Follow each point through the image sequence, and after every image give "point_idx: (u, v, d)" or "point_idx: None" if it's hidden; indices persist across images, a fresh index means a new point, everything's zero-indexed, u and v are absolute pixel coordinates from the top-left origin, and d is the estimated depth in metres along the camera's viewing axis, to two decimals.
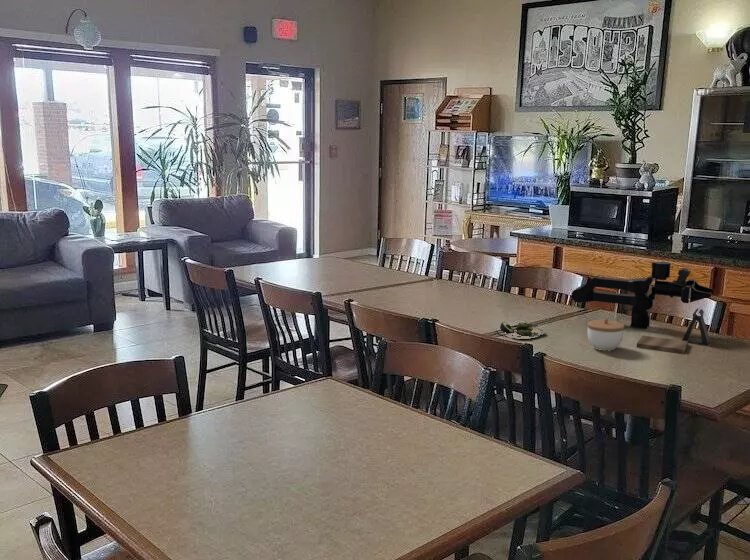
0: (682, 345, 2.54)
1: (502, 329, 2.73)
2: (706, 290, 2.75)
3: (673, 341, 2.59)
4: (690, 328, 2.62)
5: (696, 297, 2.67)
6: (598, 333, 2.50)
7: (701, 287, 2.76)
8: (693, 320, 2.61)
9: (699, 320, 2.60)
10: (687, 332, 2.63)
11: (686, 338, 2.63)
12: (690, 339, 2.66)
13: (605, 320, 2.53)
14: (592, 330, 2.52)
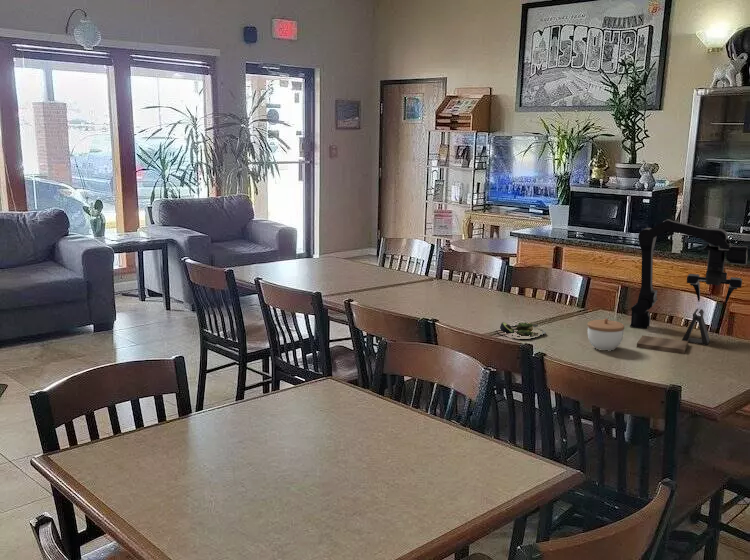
0: (682, 345, 2.54)
1: (502, 329, 2.73)
2: None
3: (673, 341, 2.59)
4: (690, 328, 2.62)
5: None
6: (598, 333, 2.50)
7: (727, 293, 2.66)
8: (693, 320, 2.61)
9: (699, 320, 2.60)
10: (687, 332, 2.63)
11: (686, 338, 2.63)
12: (690, 339, 2.66)
13: (605, 320, 2.53)
14: (592, 330, 2.52)
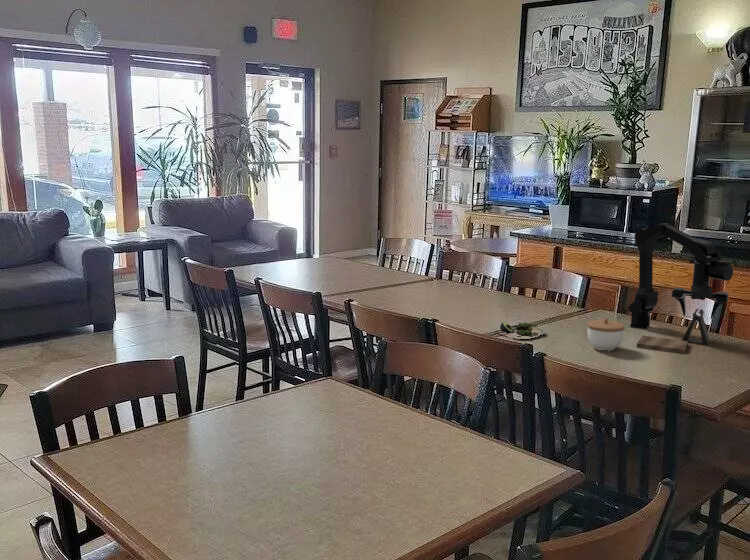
0: (682, 345, 2.54)
1: (502, 329, 2.73)
2: None
3: (673, 341, 2.59)
4: (690, 328, 2.62)
5: None
6: (598, 333, 2.50)
7: None
8: (693, 320, 2.61)
9: (699, 320, 2.60)
10: (687, 332, 2.63)
11: (686, 338, 2.63)
12: (690, 339, 2.66)
13: (605, 320, 2.53)
14: (592, 330, 2.52)
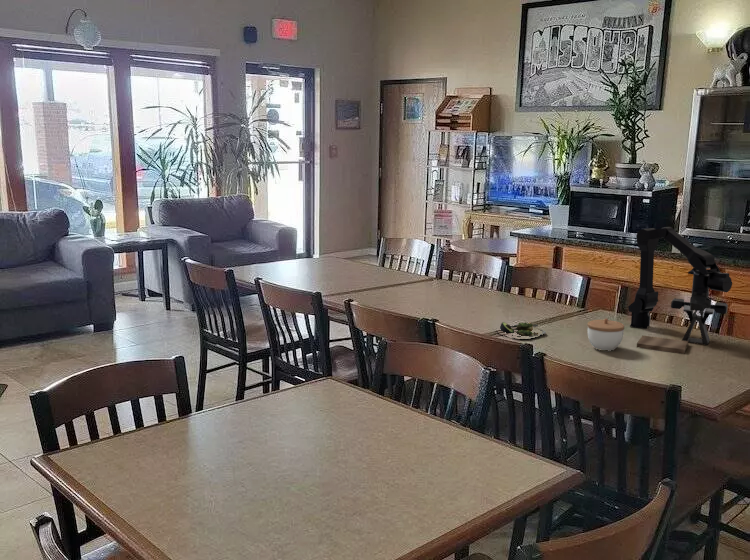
0: (682, 345, 2.54)
1: (502, 329, 2.73)
2: None
3: (673, 341, 2.59)
4: (690, 328, 2.62)
5: None
6: (598, 333, 2.50)
7: (703, 318, 2.61)
8: (693, 320, 2.61)
9: (699, 320, 2.60)
10: (687, 332, 2.63)
11: (686, 338, 2.63)
12: (690, 339, 2.66)
13: (605, 320, 2.53)
14: (592, 330, 2.52)
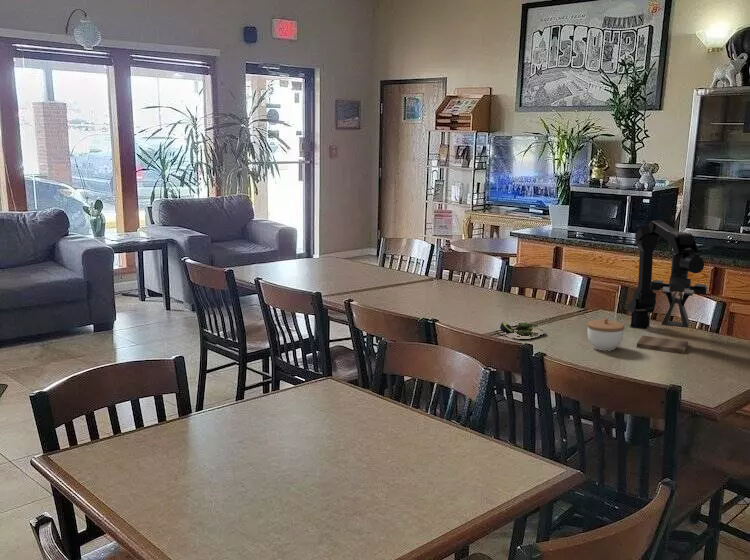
0: (682, 345, 2.54)
1: (502, 329, 2.73)
2: None
3: (673, 341, 2.59)
4: (670, 311, 2.56)
5: None
6: (598, 333, 2.50)
7: (682, 299, 2.55)
8: (673, 302, 2.55)
9: (679, 302, 2.54)
10: (667, 315, 2.57)
11: (666, 321, 2.57)
12: (670, 322, 2.60)
13: (605, 320, 2.53)
14: (592, 330, 2.52)
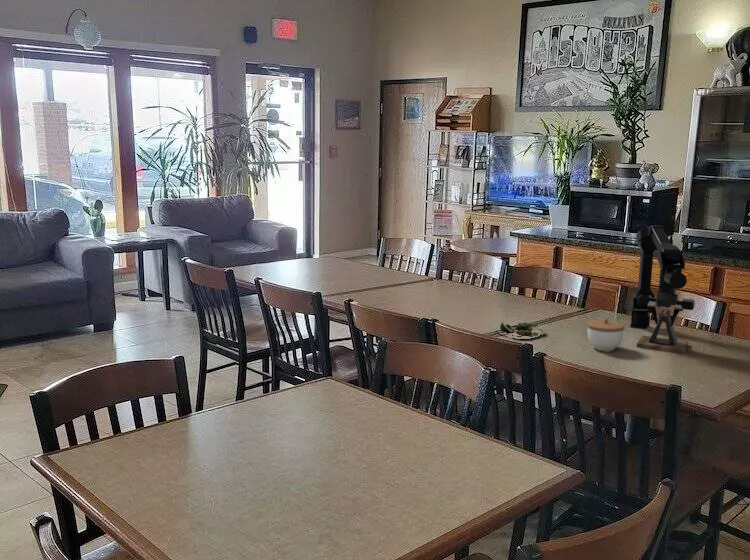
0: (682, 345, 2.54)
1: (502, 329, 2.73)
2: (672, 319, 2.55)
3: None
4: (657, 329, 2.55)
5: None
6: (598, 333, 2.50)
7: (673, 315, 2.54)
8: (660, 320, 2.54)
9: (666, 320, 2.53)
10: (654, 333, 2.56)
11: (653, 339, 2.57)
12: (657, 340, 2.59)
13: (605, 320, 2.53)
14: (592, 330, 2.52)
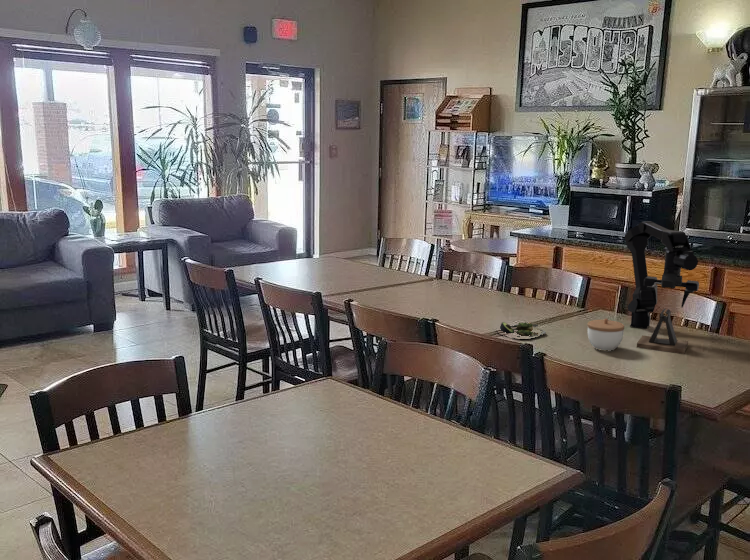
0: (682, 345, 2.54)
1: (502, 329, 2.73)
2: None
3: None
4: (657, 329, 2.55)
5: None
6: (598, 333, 2.50)
7: (683, 296, 2.62)
8: (660, 320, 2.54)
9: (666, 320, 2.53)
10: (654, 333, 2.56)
11: (653, 339, 2.57)
12: (657, 340, 2.59)
13: (605, 320, 2.53)
14: (592, 330, 2.52)
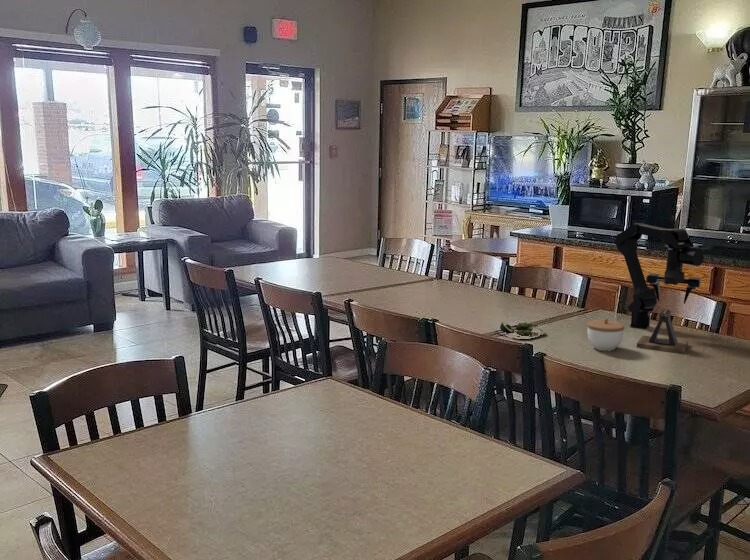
0: (682, 345, 2.54)
1: (502, 329, 2.73)
2: None
3: None
4: (657, 329, 2.55)
5: None
6: (598, 333, 2.50)
7: None
8: (660, 320, 2.54)
9: (666, 320, 2.53)
10: (654, 333, 2.56)
11: (653, 339, 2.57)
12: (657, 340, 2.59)
13: (605, 320, 2.53)
14: (592, 330, 2.52)
